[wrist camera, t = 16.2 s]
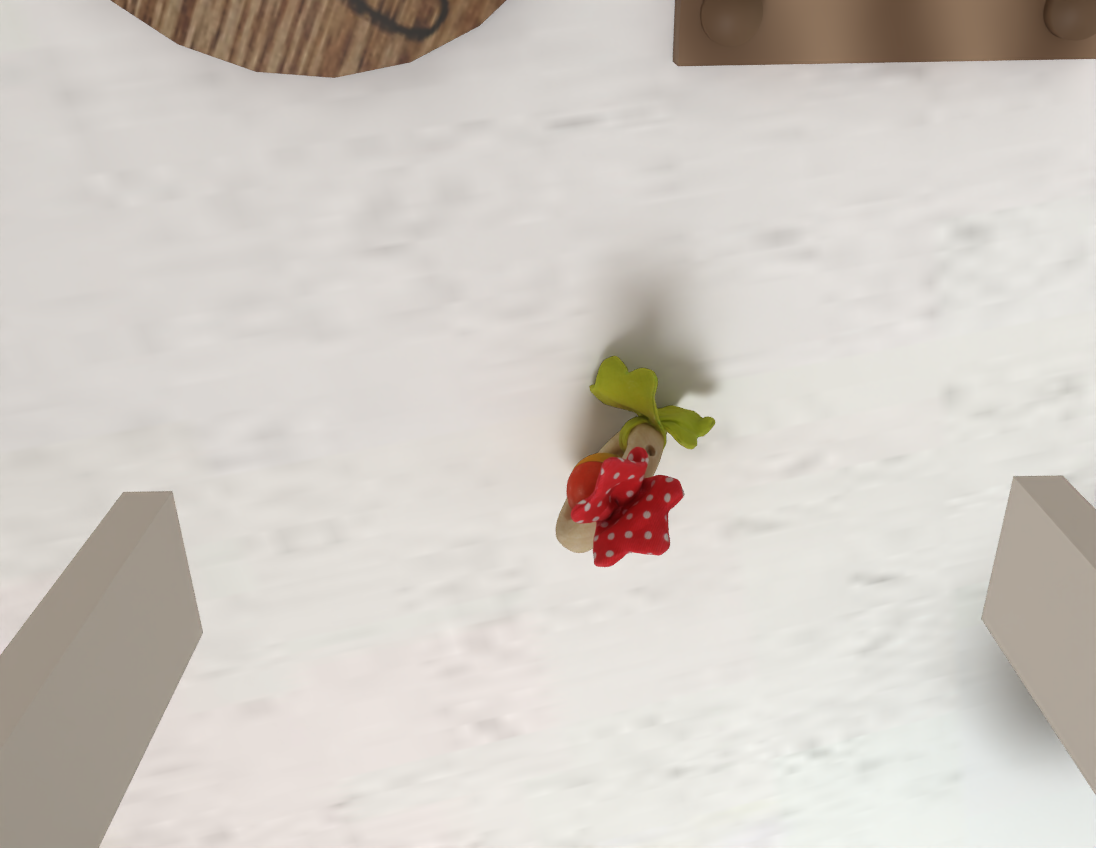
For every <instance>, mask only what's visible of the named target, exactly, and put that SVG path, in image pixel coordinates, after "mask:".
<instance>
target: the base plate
mask: <svg viewBox="0 0 1096 848" xmlns="http://www.w3.org/2000/svg"><path fill="white" fill-rule="evenodd" d="M1054 59H1096V0H675V16H674V41H673V62H674V63H675V64H676V65H677V66H714V65H771V64H827V63H884V62H941V61H998V60H1054Z"/></svg>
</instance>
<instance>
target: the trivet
mask: <svg viewBox="0 0 1096 848" xmlns="http://www.w3.org/2000/svg"><path fill="white" fill-rule="evenodd" d="M111 1H112V2H114V3H115V4H117V5H119V6H120V7H122V8H123V9H125V10H126V11H128V12H129V13H131V14H132V15H134V16H135V17H137V18H139V19H140V20H142V21H143V22H145V23H146V24H148V25H149V26H151V27H152V28H154V29H155V30H157V31H158V32H160V33H162V34H163V35H165V36H166V37H168V38H169V39H171V40H172V41H174V42H175V43H177V44H179V45H182V46H185V47H187V48H190V49H193V50H196V51H199V52H202V53H204V54H207V55H210V56H213V57H216V58H219V59H222V60H224V61H227V62H230V63H233V64H236V65H239V66H241V67H244V68H247V69H250V70H253V71H256V72H267V73H280V74H293V75H306V76H319V77H332V78H336V77H340V76H345V75H350V74H355V73H360V72H365V71H370V70H375V69H380V68H384V67H389V66H394V65H399V64H404V63H409V62H412V61H413V60H415V59H417V58H419V57H421V56H423V55H425V54H427V53H429V52H431V51H432V50H434V49H436V48H438V47H440V46H442V45H444V44H446V43H448V42H449V41H451V40H453V39H455V38H457V37H459V36H461V35H463V34H465V33H467V32H468V31H470V30H472V29H474V28H476V27H478V26H480V25H481V24H482V23H483V22H484V21H485V20H486V19H487V18H488V17H489V16H490V15H491V14H492V13H493V12H494V11H495V10H496V9H498V8H499V7H500V6H501V5H502V4H503V3H504V2H505V1H506V0H111Z"/></svg>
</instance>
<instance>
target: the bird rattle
mask: <svg viewBox="0 0 1096 848" xmlns="http://www.w3.org/2000/svg"><path fill="white" fill-rule="evenodd" d="M657 386H658V378H657V376H656V374H655V372H654V371H652V370H650V369H646V368H639V369H636V370H634V371H632V372H628V369H627V367H626V366H625V364H624V363H623V362H622V361H621V360H620V358H618V357H617V356H612V357H609V358H607V359H605V360H604V361H603V362H602V363H601V365H600V367H599V370H598V374H597V377H596V382H595V384H593V385H590V391H591V392H592V393H593V394H594V396H595V397H596V398H598V399H599V400H600V401H601V402H603V403H604V404H606V405H609V406H613V407H616V408H620V409H624V410H628V411H632V412H635V413H636V414H637V415H638V416H637V417H634V418H632V419H630V420H628V421H627V422H626V423H625V425H624V426H623V427H622V429H621V430H620V431H619V432H618V433H617V434H616V435H615V436H613V437H612V438H611V439H610V440H609V441H608V442H607V443H606V444H605V445H604V446H603V447H602V448H601V449H600V451H599V452H598V453H596V454H592V455H589V456H587V457H586V458H584V459H582V460H581V461H580V462H579V463H578V464H577V465H576V466H575V467H574V469H573V471H572V473H571V475H570V477H569V479H568V483H567V499H566V501H565V503H564V505H563V507H562V509H561V511H560V514H559V517H558V520H557V524H556V537H557V539H558V541H559V542H560V543H561V544H562V545H563V546H564V547H565V548H567V549H568V550H570V551H573V552H576V553H584V552H587V551H589V550H591V549H593V556H594V564H595V565H596V566H598V567H610V566H612V565H614V564H615V563H616V562H618V561H619V560H620V559H622V558H623V557H624V556H625V555H626V554H627V553H632V552H634V553H641V554H649V555H661V554H663V553H664V552H666V551H667V550H668V549H669V546H670V538H669V528H668V512H669V511H670V509H672V508H673V507H674V506H675V505H676V504H677V503H678V502H679V501H680V500H681V499H682V498H683V496H684V491H683V489H682V487H681V484H680V482H679V480H677V479H675V478H671V477H668V476H664V475H656V476H653V475H654V473H655V471H656V469H657V467H658V464H659V462H660V459H661V455H662V452H663V449H664V447H665V445H666V434H667V432H668V433H669V434H671V435H672V436H673V438H674V439H675V440H676V441H677V442H678V443H679V444H680V445H682V446H684V447H685V448H687V449H693V448H695V447H696V446H697V438H698V437H701V436H704V435H705V434H707V433H708V432H709V431H710V430H711V428H712V427H713V426H714V425H715V420H714V419H713V418H712V417H704V418H702V417H700V415H699V414H697V413H696V412H694V411H691V410H687V409H683V408H680V407H677V406H673V405H670V406H666V407H664V408H658V409H657V406H656V402H655V393H656V389H657Z"/></svg>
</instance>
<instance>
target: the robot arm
mask: <svg viewBox="0 0 1096 848" xmlns="http://www.w3.org/2000/svg"><path fill="white" fill-rule="evenodd" d="M981 619H982V621H983V622H984V624H985V625H986V627H987V628H988V630H989V632H990V633H991V635H992V636H993V638H994V639H995V641H996V642H997V644H998V645H999V647H1000V648H1001V650H1002V652H1003V653H1004V655H1005V656H1006V658H1007V659H1008V661H1009V662H1010V664H1011V665H1012V667H1013V668H1014V670H1015V672H1016V673H1017V675H1018V676H1019V678H1020V679H1021V681H1022V682H1023V684H1024V685H1025V687H1026V688H1027V690H1028V692H1029V693H1030V695H1031V696H1032V698H1033V699H1034V701H1035V702H1036V704H1037V705H1038V707H1039V708H1040V710H1041V712H1042V713H1043V715H1044V716H1045V718H1046V719H1047V721H1048V722H1049V724H1050V725H1051V727H1052V728H1053V730H1054V732H1055V733H1056V735H1057V736H1058V738H1059V739H1060V741H1061V742H1062V744H1063V745H1064V747H1065V748H1066V750H1067V752H1068V753H1069V755H1070V756H1071V758H1072V759H1073V761H1074V762H1075V764H1076V765H1077V767H1078V768H1079V770H1080V772H1081V773H1082V775H1083V776H1084V778H1085V779H1086V781H1087V782H1088V784H1089V785H1090V787H1091V788H1092V790H1093V792H1094V793H1095V795H1096V509H1095V508H1094V507H1093V506H1092V505H1091V504H1090V503H1089V502H1088V501H1087V500H1086V499H1085V498H1084V497H1083V496H1082V495H1081V494H1080V493H1079V492H1078V491H1077V490H1076V489H1075V488H1074V487H1073V486H1072V485H1071V484H1070V483H1069V482H1068V481H1067V480H1066V479H1065V478H1064V477H1063V476H1013V481H1012V485H1011V490H1010V494H1009V498H1008V503H1007V507H1006V512H1005V516H1004V521H1003V525H1002V529H1001V534H1000V538H999V543H998V547H997V551H996V556H995V560H994V565H993V569H992V574H991V578H990V582H989V587H988V591H987V596H986V600H985V605H984V609H983V613H982V618H981ZM202 634H203V630H202V626H201V621H200V616H199V612H198V607H197V603H196V598H195V593H194V589H193V584H192V580H191V575H190V570H189V566H188V561H187V556H186V552H185V547H184V543H183V538H182V533H181V529H180V524H179V520H178V515H177V510H176V506H175V501H174V497H173V492H172V491H159V492H123V493H122V494H121V496H120V497H119V498H118V500H117V501H116V502H115V504H114V505H113V506H112V508H111V509H110V510H109V512H108V513H107V514H106V516H105V517H104V518H103V520H102V521H101V522H100V524H99V525H98V526H97V528H96V529H95V530H94V532H93V533H92V534H91V536H90V537H89V538H88V540H87V541H86V542H85V544H84V545H83V546H82V548H81V549H80V550H79V552H78V553H77V554H76V556H75V557H74V558H73V560H72V561H71V562H70V564H69V565H68V566H67V568H66V569H65V570H64V572H63V573H62V574H61V576H60V577H59V578H58V579H57V581H56V582H55V583H54V585H53V586H52V587H51V589H50V590H49V591H48V593H47V594H46V595H45V597H44V598H43V599H42V601H41V602H40V603H39V605H38V606H37V607H36V609H35V610H34V611H33V613H32V614H31V615H30V617H29V618H28V619H27V621H26V622H25V623H24V625H23V626H22V627H21V629H20V630H19V631H18V633H17V634H16V635H15V637H14V638H13V639H12V641H11V642H10V643H9V645H8V646H7V647H6V649H5V650H4V651H3V653H2V654H1V655H0V848H99V846H100V844H101V842H102V840H103V838H104V836H105V834H106V831H107V829H108V827H109V825H110V823H111V821H112V819H113V817H114V815H115V813H116V811H117V809H118V807H119V805H120V803H121V801H122V798H123V796H124V794H125V792H126V790H127V788H128V786H129V784H130V782H131V780H132V778H133V776H134V774H135V772H136V770H137V768H138V766H139V763H140V761H141V759H142V757H143V755H144V753H145V751H146V749H147V747H148V745H149V743H150V741H151V739H152V737H153V735H154V733H155V731H156V728H157V726H158V724H159V722H160V720H161V718H162V716H163V714H164V712H165V710H166V708H167V706H168V704H169V702H170V700H171V698H172V695H173V693H174V691H175V689H176V687H177V685H178V683H179V681H180V679H181V677H182V675H183V673H184V671H185V669H186V667H187V665H188V663H189V660H190V658H191V656H192V654H193V652H194V650H195V648H196V646H197V644H198V642H199V640H200V638H201V636H202Z"/></svg>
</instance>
